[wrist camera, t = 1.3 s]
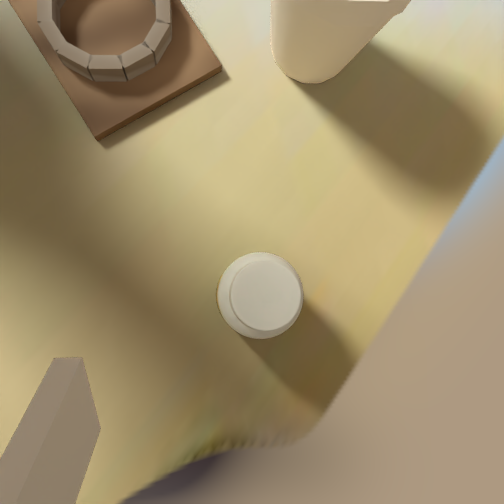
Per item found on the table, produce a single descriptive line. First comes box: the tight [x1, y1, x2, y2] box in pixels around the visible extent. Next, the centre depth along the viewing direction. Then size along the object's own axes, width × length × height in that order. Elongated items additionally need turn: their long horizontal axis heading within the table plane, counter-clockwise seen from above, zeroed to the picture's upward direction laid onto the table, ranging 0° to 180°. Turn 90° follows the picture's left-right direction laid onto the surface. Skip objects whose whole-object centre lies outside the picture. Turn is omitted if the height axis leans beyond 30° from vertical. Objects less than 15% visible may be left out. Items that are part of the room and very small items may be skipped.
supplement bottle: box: [216, 252, 303, 339], centre depth 31 cm, size 5×5×10 cm
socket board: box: [8, 0, 222, 141], centre depth 36 cm, size 14×11×3 cm
